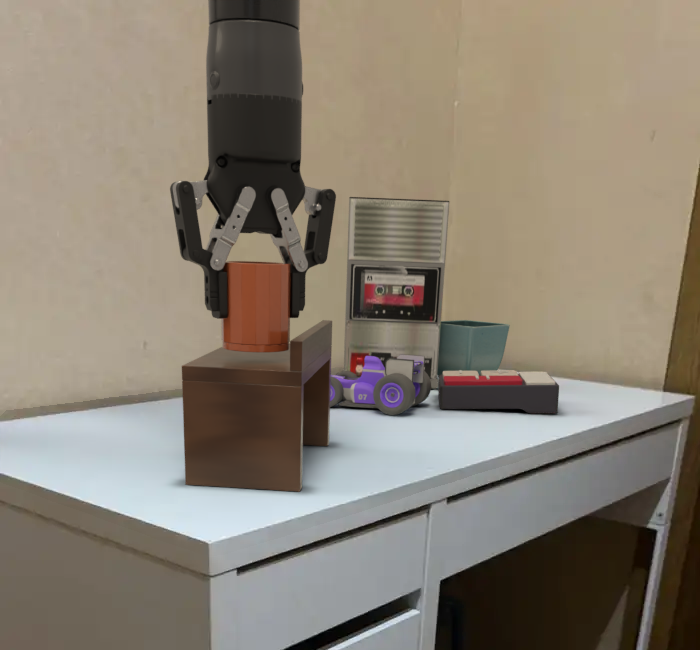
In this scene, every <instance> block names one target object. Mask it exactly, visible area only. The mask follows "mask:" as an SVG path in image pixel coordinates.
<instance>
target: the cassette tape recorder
mask: <svg viewBox="0 0 700 650" xmlns="http://www.w3.org/2000/svg"><path fill="white" fill-rule="evenodd" d="M449 213H450V200H434V199H414V198H410V199H409V198H385V197H361V196H350V197H349V198H348V223H347V224H348V226H347V228H348V229H347V253H346V254H347V258H346V263H347V264H346V288H345V290H346V291H345V314H344V315H345V318H344V346H343V371H350V372H353V373H354V374H355V375H356V376H357V377H358V378H360V377H361V375H362V371H363V367H364V365H365V363H364V359H365V356H375V357H377V358H379V359H380V360H381V362H382V364H383V366H384V367H385V362H386V360H387V359H389V358H397V357H398V356H399V355H400V354H405V355H417V356H425V360H424V371H425V372H426V373H427V374H428V376H429V378H430V381H431V390H437V389H439V377H438V375H437V370H438V356H439V342H440V328H441V321H442V311H443V300H444V299H443V298H444V286H445V285H444V284H445V268H446V256H447V241H448V228H449V227H448V226H449Z"/></svg>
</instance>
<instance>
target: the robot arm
mask: <svg viewBox="0 0 700 650" xmlns="http://www.w3.org/2000/svg"><path fill="white" fill-rule="evenodd" d="M207 5H208V35H207V46H206V57H205V58H206V59H205V70H206V71H205V72H206V73H205V74H206V76H205V77H206V118H207V119H206V122H207V123H206V124H207V158H208V166H207V171H206V172H205V173H206V174H205V175H204V177H203V180H196V181H195V180H194V181H188V180H177V181H174V182H172V183H171V184H170V186H169V191H170V197H171V204H172V211H173V216H174V223H175V229H176V235H177V242H178V247H179V253H180V256H181V257H180V258H182V259H183V260H184V261H186V262H190V263H193V264H196V265H198V266H199V267H201V269H202V271H203V279H204V280H203V281H204V282H203V283H204V285H203V286H204V305H205V308H206V310H207V311H209V312H211V316H212V318H214V319H219V320H220V319H226V318H227V315H228V307H227V272H223V267H224V265H225V262H226V261H228V257H229V255H230V253H231V250H232V248H233V247H234V246H235V245H236V243H237V241H238V239H239V236H240V234H253V233H257V234H259V235H262V234H263V235H269V236H270V238H271V240H272V243H273V244H274V246H275V247H276V248H277V250H278V253H279V255H280V259H281V260H282V263H289V264H290V319H298V318H299V317H300V312H304V309H305V306H306V275H307V272H308V270H309V269H310V268H312V267H315V266H318V265H324V264H325V263H326V262H327V260H328V254H329V248H330V241H331V235H332V228H333V221H334V215H335V208H336V200H337V194H336V192H335V190H334V189H332V188H315V187H311V186H307V185H305V182H304V179H303V177H302V173H301V164H302V163H301V161H302V128H303V127H302V120H303V116H302V115H303V95H304V83H303V58H302V49H301V37H300V36H301V35H300V33H301V32H300V28H301V27H300V26H301V25H300V24H301V0H208V4H207ZM205 195H206V197H207V198H208V200H209V202H210V203H211V205H212V206H213V208H214V210H215V211H216V213H217V214H216V218H215V220H214V223H213V225H212V228H211V230H210V233H209V240H208V242H207V245H206V247H205V248H203V242H202V235H201V228H200V223H199V222H200V221H199V216H198V211H199V210H200V209H201V208H202V206H203V199H204V196H205ZM302 201H303V203H304V211H305V213H306V214H307V215H308V219H307V225H306V233H305V239H304V245H303V246H304V248H303V246H302V243H301V239H302V237H301V235H300V232H299V229H298V227H297V225H296V221H295V220H294V217H293V215H294V213H295V211H296V210H297V208H298V207H299V205H300V204H301V202H302Z"/></svg>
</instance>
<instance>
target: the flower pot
mask: <svg viewBox="0 0 700 650" xmlns="http://www.w3.org/2000/svg"><path fill="white" fill-rule="evenodd" d="M510 326H511V325H510V324H508V323H500V322H491V321H479V320H469V319H457V320H456V319H455V320H441V328H440V342H439V356H438V370H437V378H439V375H443V371H459V370H462V371H477V372H478V374H481V371H490V370H499V367H500V366H501V364H502V362H503V358H504V354H505V349H506V345H507V340H508V335H509V331H510Z"/></svg>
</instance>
